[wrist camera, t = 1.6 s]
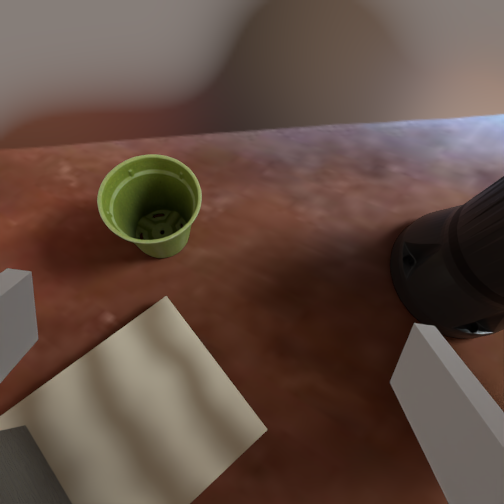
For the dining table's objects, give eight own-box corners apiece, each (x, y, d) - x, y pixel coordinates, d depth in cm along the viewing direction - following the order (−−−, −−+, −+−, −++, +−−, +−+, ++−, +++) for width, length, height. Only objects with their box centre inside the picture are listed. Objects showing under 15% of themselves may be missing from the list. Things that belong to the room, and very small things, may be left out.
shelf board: (169, 301, 38) (166, 295, 36) (264, 426, 35) (267, 429, 33) (7, 419, 33) (-8, 422, 31) (101, 580, 30) (91, 597, 27)
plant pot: (112, 208, 42) (88, 165, 33) (191, 189, 43) (186, 144, 35) (130, 282, 39) (108, 255, 31) (213, 258, 41) (213, 227, 33)
